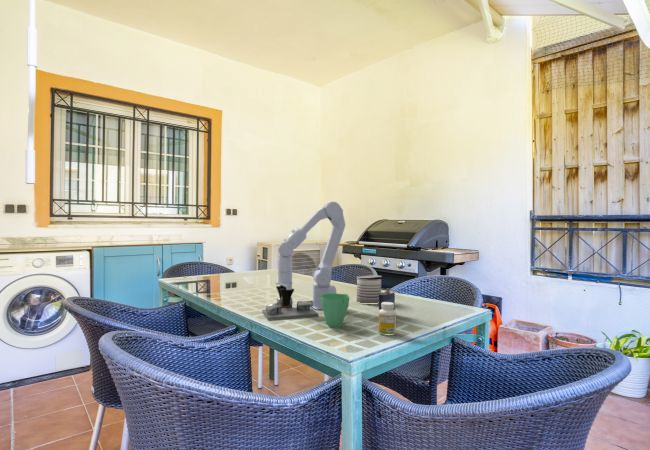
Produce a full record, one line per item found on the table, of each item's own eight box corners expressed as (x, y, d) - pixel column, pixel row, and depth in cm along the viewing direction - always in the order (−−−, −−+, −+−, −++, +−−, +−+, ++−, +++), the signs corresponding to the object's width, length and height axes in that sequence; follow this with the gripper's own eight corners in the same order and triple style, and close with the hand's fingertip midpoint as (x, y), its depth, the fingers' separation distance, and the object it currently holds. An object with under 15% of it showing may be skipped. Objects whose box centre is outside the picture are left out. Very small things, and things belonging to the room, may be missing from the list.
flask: (390, 313, 141) (390, 286, 141) (396, 315, 139) (397, 287, 139) (377, 318, 134) (377, 289, 134) (383, 319, 132) (384, 290, 132)
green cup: (341, 331, 116) (342, 300, 116) (315, 326, 121) (315, 297, 121) (358, 320, 129) (358, 293, 129) (333, 317, 134) (334, 290, 134)
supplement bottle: (383, 330, 118) (383, 300, 118) (398, 333, 115) (398, 302, 115) (375, 333, 114) (376, 303, 114) (391, 337, 111) (391, 305, 111)
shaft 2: (310, 308, 143) (311, 299, 143) (313, 310, 140) (313, 301, 140) (296, 309, 141) (296, 300, 141) (299, 311, 138) (299, 302, 138)
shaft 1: (275, 310, 138) (275, 302, 138) (282, 312, 136) (282, 303, 136) (264, 313, 133) (264, 304, 133) (271, 315, 131) (271, 306, 131)
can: (366, 305, 154) (366, 278, 154) (350, 300, 163) (351, 274, 163) (386, 303, 159) (387, 276, 159) (370, 298, 169) (371, 273, 169)
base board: (308, 309, 146) (308, 306, 146) (318, 316, 135) (318, 313, 135) (262, 312, 139) (262, 309, 139) (268, 320, 128) (268, 317, 128)
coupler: (289, 306, 150) (290, 296, 150) (292, 308, 146) (292, 298, 146) (276, 307, 148) (276, 296, 148) (279, 309, 144) (279, 298, 144)
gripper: (271, 269, 152) (271, 301, 152) (279, 274, 139) (279, 309, 139) (288, 269, 155) (287, 300, 155) (297, 273, 141) (296, 308, 141)
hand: (284, 304), depth 147 cm, fingers closed on coupler, 4 cm apart
